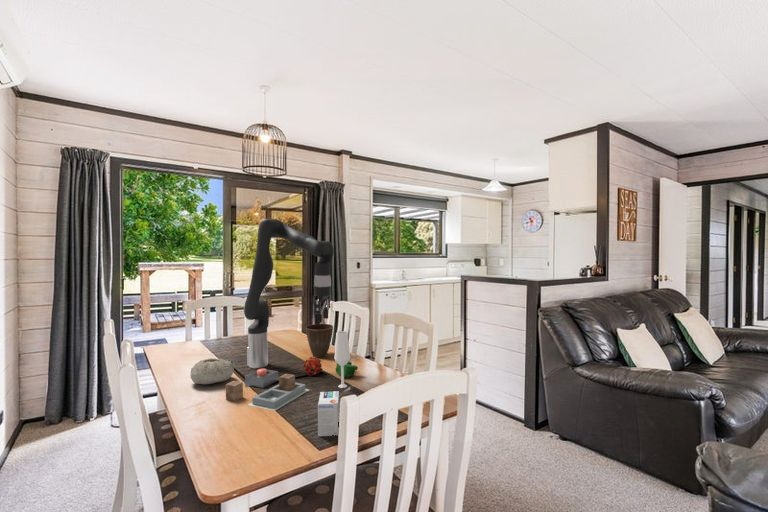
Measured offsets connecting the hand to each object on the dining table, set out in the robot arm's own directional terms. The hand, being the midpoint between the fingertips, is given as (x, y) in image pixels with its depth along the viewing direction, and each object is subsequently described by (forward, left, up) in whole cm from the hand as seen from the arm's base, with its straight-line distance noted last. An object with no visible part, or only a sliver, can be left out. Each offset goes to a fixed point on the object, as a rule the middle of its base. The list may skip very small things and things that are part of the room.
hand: (322, 320), depth 180 cm
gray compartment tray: (-3, -27, -27) cm, 38 cm away
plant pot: (-22, +30, -27) cm, 45 cm away
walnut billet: (-19, -35, -27) cm, 48 cm away
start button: (-21, -17, -24) cm, 36 cm away
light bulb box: (+28, -40, -27) cm, 56 cm away
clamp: (+7, +8, -27) cm, 29 cm away
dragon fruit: (-8, +3, -27) cm, 28 cm away
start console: (-21, -17, -27) cm, 38 cm away
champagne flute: (+14, -7, -27) cm, 31 cm away
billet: (-3, -23, -26) cm, 35 cm away
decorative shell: (-44, -23, -27) cm, 56 cm away
